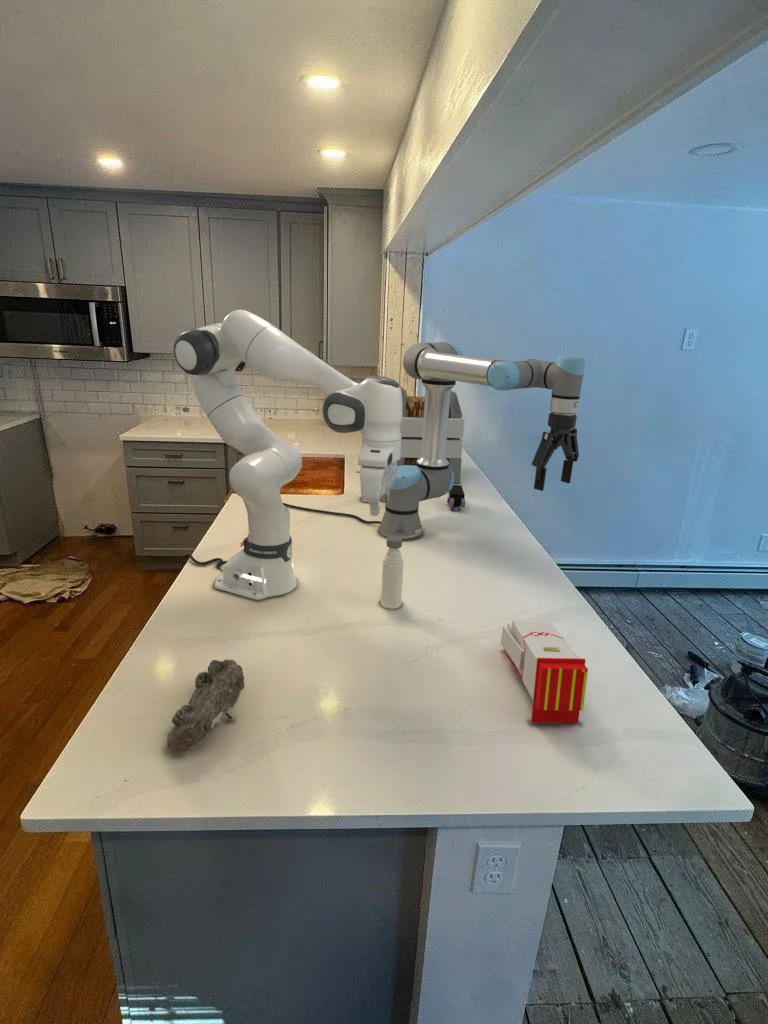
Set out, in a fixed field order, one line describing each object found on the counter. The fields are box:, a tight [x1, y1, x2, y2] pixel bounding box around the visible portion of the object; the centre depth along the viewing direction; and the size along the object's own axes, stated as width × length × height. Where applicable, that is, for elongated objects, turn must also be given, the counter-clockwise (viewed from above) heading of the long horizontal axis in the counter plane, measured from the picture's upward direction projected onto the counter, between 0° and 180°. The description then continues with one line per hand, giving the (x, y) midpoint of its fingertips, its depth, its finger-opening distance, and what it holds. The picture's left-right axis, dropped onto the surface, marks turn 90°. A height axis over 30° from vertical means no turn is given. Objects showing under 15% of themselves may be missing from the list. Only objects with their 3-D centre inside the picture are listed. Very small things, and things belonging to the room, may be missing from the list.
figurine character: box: [446, 484, 466, 511], centre depth 229 cm, size 7×8×15 cm
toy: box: [500, 620, 589, 724], centre depth 121 cm, size 12×13×30 cm
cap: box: [386, 536, 403, 549], centre depth 146 cm, size 4×4×2 cm
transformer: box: [397, 385, 465, 484], centre depth 268 cm, size 34×33×41 cm
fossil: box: [166, 658, 245, 754], centre depth 106 cm, size 22×10×15 cm
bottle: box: [380, 547, 404, 610], centre depth 149 cm, size 5×5×19 cm
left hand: (379, 508), depth 133 cm, fingers open, 8 cm apart
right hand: (552, 485), depth 166 cm, fingers open, 13 cm apart
